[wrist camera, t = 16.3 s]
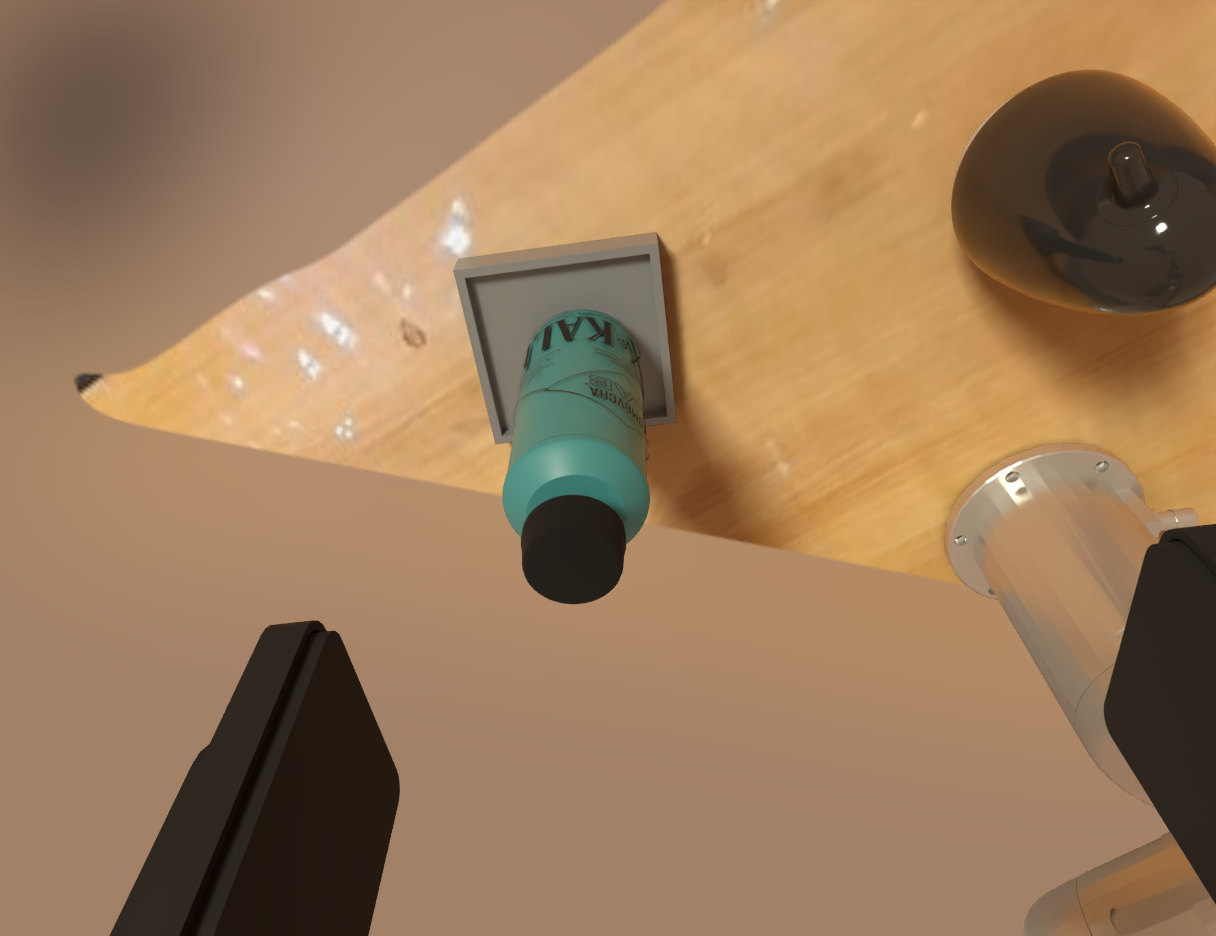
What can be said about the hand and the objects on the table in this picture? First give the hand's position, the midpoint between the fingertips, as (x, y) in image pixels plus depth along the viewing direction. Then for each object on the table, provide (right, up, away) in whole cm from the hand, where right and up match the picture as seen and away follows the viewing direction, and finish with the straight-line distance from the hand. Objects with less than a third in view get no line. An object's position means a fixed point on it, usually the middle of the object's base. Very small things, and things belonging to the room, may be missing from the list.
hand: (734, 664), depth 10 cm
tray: (-4, +10, +39) cm, 41 cm away
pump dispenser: (+20, +18, +34) cm, 44 cm away
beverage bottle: (-3, +9, +39) cm, 40 cm away
